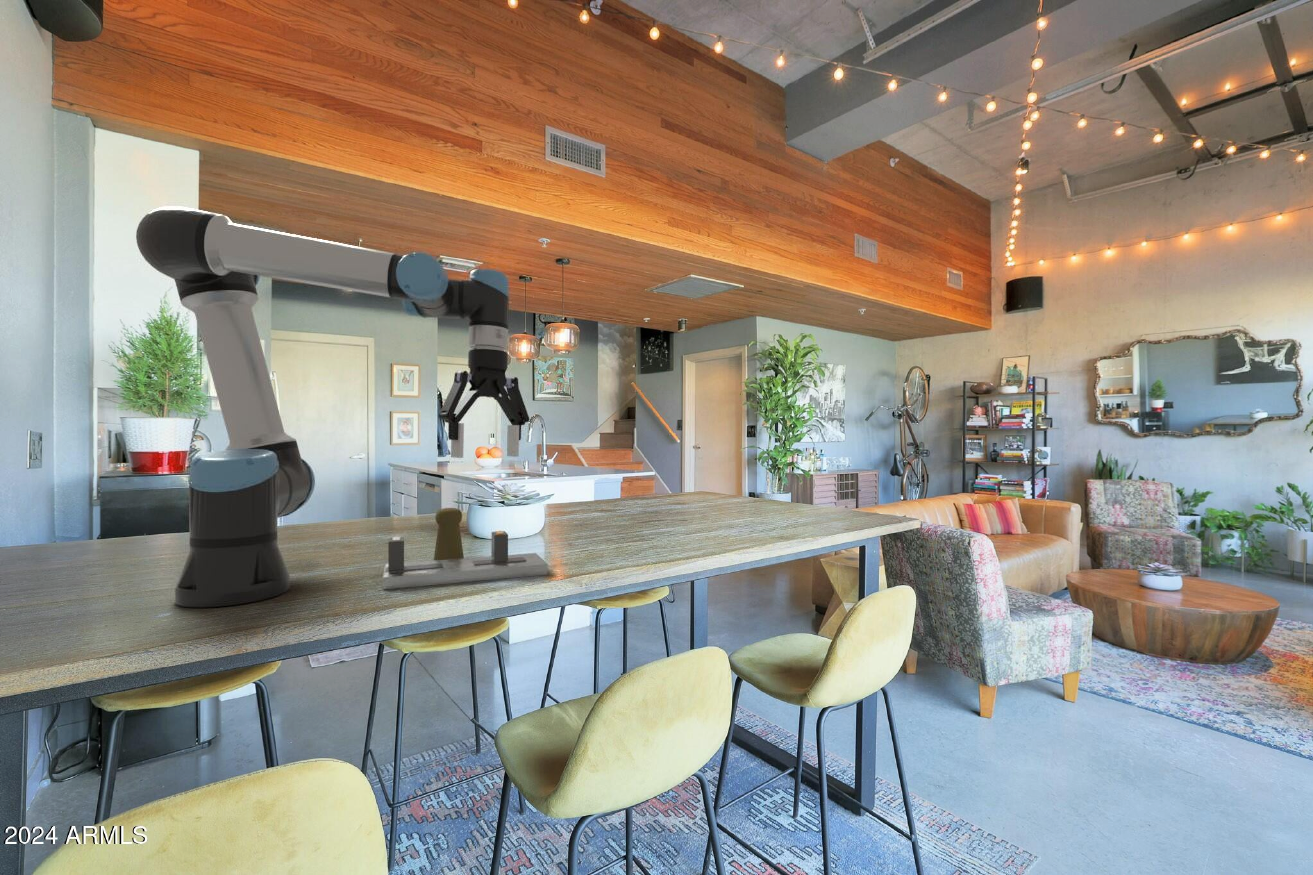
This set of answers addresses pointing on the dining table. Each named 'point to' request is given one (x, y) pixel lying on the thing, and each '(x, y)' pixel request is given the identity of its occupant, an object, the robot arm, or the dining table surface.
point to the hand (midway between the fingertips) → (486, 457)
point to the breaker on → (396, 553)
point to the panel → (463, 570)
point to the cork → (448, 535)
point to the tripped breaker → (499, 546)
